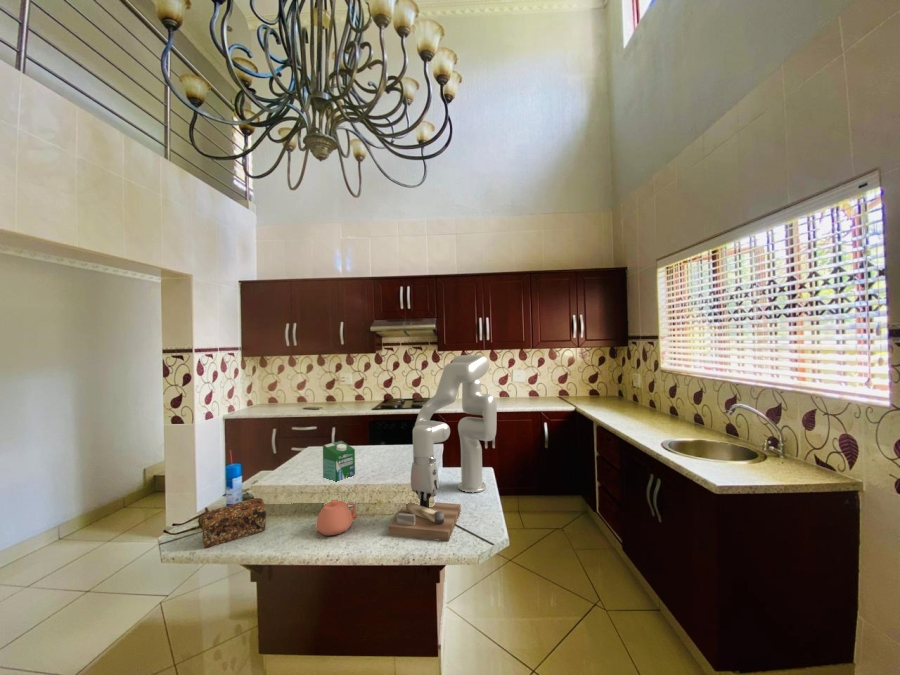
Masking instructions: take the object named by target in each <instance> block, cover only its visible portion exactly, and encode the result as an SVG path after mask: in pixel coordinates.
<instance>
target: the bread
mask: <svg viewBox="0 0 900 675" xmlns="http://www.w3.org/2000/svg"><path fill="white" fill-rule="evenodd" d="M266 524H267V510H266V506H265V503H264V500H263V498H260V497H254V498H251V499H247V500H244V501H241V502H240V501H239V502H237V503H234V504H230V505H227V506H223V507H219V508H215V509H212V510H209V511H207V512H205V513H204V514H203V515H202V516H201V533H202V540H203V548H204V549H209V548H211V547H215V545H216V546H220V545H222V544H227V543H229V542H232V541H236V539H237V540H239V539H243V538H245V537H249V535H250V536H253V535H255V534H259V533H260V532H263V531H265V530H266ZM219 544H220V545H219Z"/></svg>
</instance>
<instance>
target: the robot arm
mask: <svg viewBox="0 0 900 675" xmlns="http://www.w3.org/2000/svg"><path fill="white" fill-rule="evenodd" d="M489 368H490V361H489V359H488V358H487V356H485V355H482V354H481V355H480V354H479V355H477V354H474V355H470V354H468V355H466V354H464V355H457V356H455V357H453V358H452V361H451V362H448V363H447V364H445V365H444V367H443V370H442V373H441V375H440V379H439V382H438V385H437V388H436V392H435V394H434V395H433V396H432V397H431V398H429V399H428V400H427V401H426V402H425V403H424V404H423V406H422V407H421V408H420V410H419V412H418V414H417V418H416V421H415V423H414V427H413V429H412V453H413V454H412V458H413V462H412V464H411V468H410V487H411V491H412V492H414V493H416V495H417V497H418V499H419V501H420V506H423V507H426V508H429V502H430V498H433V497H437V495H438V491H437V490H439V489H440V488H439V487H440V486H439V485H440V481H439V472H438V467H437V464H436V461H437V459H436V458H435V456H434V444H437V443H444V442H446V440H448V439H449V437H450V434H451V428H450V426H449V425H448V424H447V423H446V422H442V421H436V420H431V418H432V416H433V415H434V413H436V412H437V411H438V410H440V409H442V408H444V407H447V406H449V405H452V404H453V403H454V402H456V399H457V395H458V392H459V388H460V385H462V386H461V391H462V392H461V393H462V394H461V407H462V411H463V412H464V413H465V414H468V415H469V414H470V415H476V416H482V417H475V416H474V417H473V416H465V417H463V418H461V419H460V420H459V422H458V424H457V430H458V436H459V441H460V443H459V444H460V470H461V471H460V473H461V474H460V476H461V481H460V482H459V483H458V485H457V488H458V490H459V489H460V490H459V491H461V490H462V492H463V491H465V492H464V493H467V492H472V493H471V494H475V493H474V492H477V493H482V492H483V490H484V491H485V490H486V489H487V485H486V484H487V483H485V482H483V449H482V445H481V442H480V441H484V442H491V441H494V439H495V438H496V435H497V426H498V425H497V417H498V416H497V413H498V412H497V411H498V410H497V408H498V406H497V401H496V398H495V397H494V396H493V395H492V394H490V393H482V390H481V388H482V387H481V386H482V385H481V380H480V379H481V378H483V377H484V376H485V375H486V374H487V373H488V371H489Z"/></svg>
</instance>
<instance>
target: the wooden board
mask: <svg viewBox="0 0 900 675" xmlns="http://www.w3.org/2000/svg"><path fill="white" fill-rule="evenodd" d="M434 502H435V501H434ZM461 505H462V504H461V503H448V502H438V501H437V502H435V505H434V506H433V507H429V509H432V510H435V511H437V512H438V511H441V512H443V513H444V523H442V524H436V523H435V522H433V521H430V520H428V519H425V518H422V517H420V516H417V515H415V514H412V513H409V512H407V511H406V507H404V506H403V507H402V509H400V511H398V513H397V515H396V516H395V517H394V518H393V519H392V520H391V522H390V524H389V525H388V529H387V530H388V536H395V537H403V538H414V539H415V538H416V539H423V538H426V539H425V540H432V539H439V540H438V541H442V540H447V541H446V542H449V541H450V539H451V537H452V534H453V532H454V530H455V527H456V525H457V523H458V520H459V518H458V517H460V515H461V513H462V511H461V510H462V509H461V507H462V506H461ZM460 512H461V513H460ZM457 519H458V520H457ZM455 524H456V525H455ZM453 529H454V530H453ZM450 536H451V537H450Z"/></svg>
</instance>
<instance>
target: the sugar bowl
mask: <svg viewBox="0 0 900 675" xmlns="http://www.w3.org/2000/svg"><path fill="white" fill-rule="evenodd" d="M348 505H353V506H352V511H351V508H350V507H348ZM355 512H356V503H355V504H354V503H353V502H349V503H347V504H346V503H345V502H343V501H338V500H332V501H331V502H329V503H327V504H325V505H324V507H322V509H321V510H320V511H319V514H318V516H317V518H316V519H317V520H316V523H315V528H316V530H317V531H318V532H319V533H320V534H322V535H324V536H326V535H331V536H336V535H340V534H342V532H343V533H346V532H347V531H348V529H349V528H350V527H351V526H352V524H353V521H356V519H357V518H358V514H357V513H355Z"/></svg>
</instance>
